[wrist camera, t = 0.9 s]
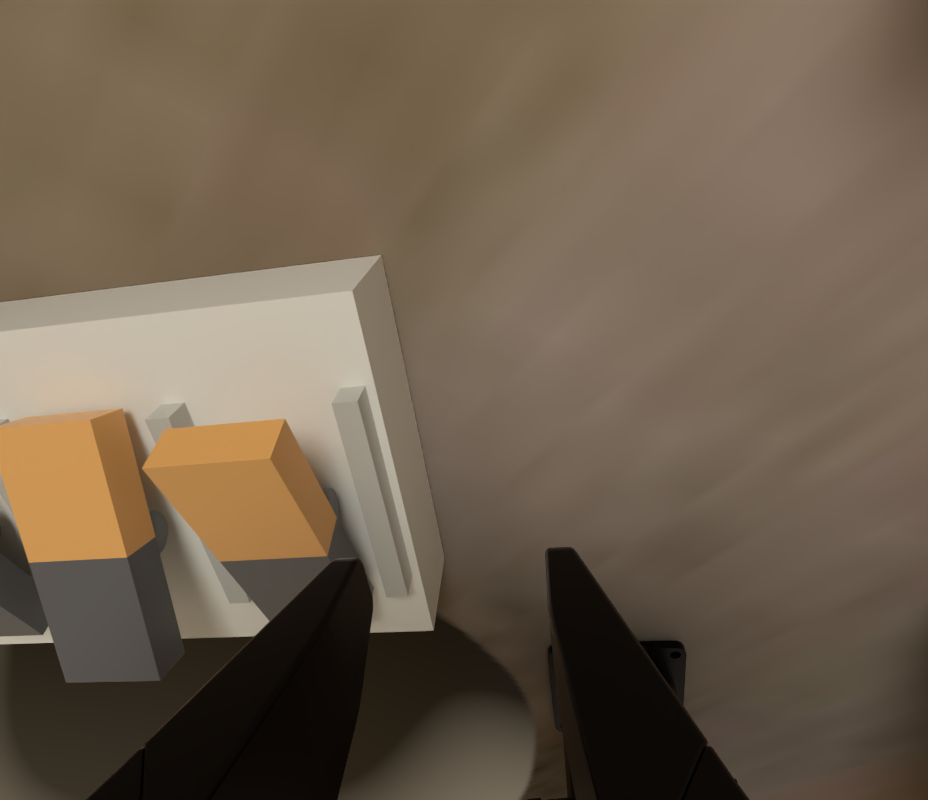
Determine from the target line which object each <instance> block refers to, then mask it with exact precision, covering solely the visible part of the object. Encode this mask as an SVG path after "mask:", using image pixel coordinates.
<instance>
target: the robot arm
mask: <svg viewBox="0 0 928 800" xmlns="http://www.w3.org/2000/svg"><path fill="white" fill-rule="evenodd" d="M545 560H546V579H547V597H548V610H549V620H550V630H551V640H552V646H550V647H549V648H548V660H549V669H550V678H551V688H552V697H553V706H554V716H555V725H556V728H557V729H558V730H559V731H561V732H563V741H564V754H565V768H566V781H567V795H568V798H559V799H549V800H749V798H748V797H747V796H746V794H745V793H744V792H743V790H742V789H741V787H740V786H739V785H738V783H737V780H736V779H734V778H733V777H732V775H731V774H730V772H729V771H728V769H727V768H726V766H725V765H724V764H723V762H722V761H721V759H720V758H719V756H718V755H717V753H716V752H715V751H714V749H713V748H712V747H710V746H707V744H708V742H707V740H706V738H705V737H704V735H703V734H702V732H701V731H700V729H699V728H698V727H697V725H696V724H695V722H694V721H693V719H692V718H691V716H690V715H689V714H688V712H687V711H686V709H685V708H684V706H683V701H684V685H685V669H686V652H685V648H684V645H683V644H682V643H681V642H678V641H650V642H639V641H638V640H637V639H636V637H635V636H634V634H633V633H632V631H631V630H630V628H629V627H628V626H627V624H626V623H625V621H624V620H623V618H622V617H621V615H620V614H619V613H618V611H617V610H616V608H615V607H614V605H613V604H612V602H611V601H610V600H609V598H608V597H607V595H606V594H605V592H604V591H603V589H602V588H601V587H600V585H599V584H598V582H597V581H596V579H595V578H594V576H593V575H592V574H591V572H590V571H589V569H588V568H587V566H586V565H585V563H584V562H583V561H582V559H581V558H580V556H579V555H578V553H577V552H576V551H575V550H574V549H573V548H571V547H557V548H548V549H547V550H546V551H545ZM372 614H373V596H372V592H371V589H370V586H369V582H368V579H367V576H366V572H365V569H364V566H363V563H362V561H361V560H360V559H358V558H338V559H334V560H333V561H331V562H330V563H329V564H328V565H327V566H326V567H325V568H324V569H323V570H322V571H321V572H320V573H319V574H318V575H317V576H316V577H315V578H313V579H312V580H311V581H310V582H309V583H308V584H307V585H306V586H305V587H304V588H303V589H302V590H301V591H300V592H299V593H298V594H297V595H296V596H295V597H294V598H293V599H292V600H291V601H290V602H289V603H288V604H287V605H286V606H285V607H284V608H283V609H282V610H281V611H280V612H279V613H278V614H277V615H276V616H275V617H274V618H273V619H271V620H270V621H269V622H268V623H267V624H266V625H265V626H264V627H263V628H262V629H261V630H260V631H259V632H258V633H257V634H256V635H255V636H254V637H253V638H252V639H251V640H250V641H249V642H248V643H247V644H246V645H245V646H244V647H243V648H242V649H241V650H240V651H239V652H238V653H237V654H236V655H235V656H234V657H233V658H232V659H231V660H229V661H228V662H227V663H226V664H225V665H224V666H223V667H222V668H221V669H220V670H219V671H218V672H217V673H216V674H215V675H214V676H213V677H212V678H211V679H210V680H209V681H208V682H207V683H206V684H205V685H204V686H203V687H202V688H201V689H200V690H199V691H198V692H197V693H196V694H195V695H194V696H193V697H192V698H191V699H190V700H189V701H187V703H186V704H185V705H183V707H181V708H180V709H179V710H178V711H177V712H176V713H175V714H174V715H173V716H172V717H171V718H170V719H169V720H168V721H167V722H166V723H165V724H164V725H163V726H162V727H161V728H160V729H159V730H158V731H157V732H156V733H155V734H154V735H153V736H152V737H151V738H150V739H149V740H148V741H147V742H146V743H145V747H144V748H139V749H138V750H137V751H136V752H135V753H134V754H133V755H132V756H131V757H130V758H129V759H128V760H127V761H126V762H125V763H124V764H123V765H122V766H121V767H120V768H119V769H118V770H117V771H115V773H114V774H112V775H111V776H110V777H109V778H108V779H107V780H106V781H105V782H104V783H103V784H102V785H101V786H100V787H99V788H98V789H96V791H94V792H93V793H92V794H91V795H90V796H89V797H88V798H87V799H86V800H337V799H338V794H339V790H340V786H341V782H342V778H343V774H344V770H345V766H346V762H347V758H348V754H349V750H350V746H351V742H352V738H353V734H354V730H355V726H356V721H357V717H358V712H359V707H360V701H361V695H362V687H363V680H364V673H365V666H366V658H367V651H368V644H369V636H370V629H371V622H372ZM528 800H541V799H540V798H533V799H528Z"/></svg>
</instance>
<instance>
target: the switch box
mask: <svg viewBox="0 0 928 800" xmlns="http://www.w3.org/2000/svg"><path fill="white" fill-rule="evenodd" d="M119 408H123V412H124V416H125V419H126V423H127V427H128V431H129V435H130V439H131V443H132V447H133V451H134V455H135V459H136V462H137V466H138V470H139V474H140V478H141V482H142V486H143V490H144V494H145V498H146V502H147V506H148V509H149V511H158V512H160V513H161V514H162V515H163V516H164V518H165V520H166V523H167V527H168V537H167V542H166V545H165V547H164V549H163V551H162V552H161V553H160V556H161V560H162V564H163V568H164V572H165V576H166V580H167V584H168V588H169V592H170V596H171V600H172V603H173V607H174V611H175V615H176V619H177V623H178V627H179V631H180V635H181V639H183V638H210V637H211V638H215V637H246V636H255V635H256V634H257V633H258V632H259V631H260V630H261V629H262V628H263V627H264V626H265V625H266V624H267V623H268V622H269V620H268V619H267V617H266V616H265V615H264V614H263V613H262V612H261V610H260V609H259V608H258V607H257V606H256V604H255V603H254V602H253V601H252V600H251V598H250V597H249V596H248V595H247V594H246V592H245V591H244V590H243V589H242V588H241V586H240V585H239V584H238V583H237V582H236V580H235V579H234V578H233V577H232V576H231V575H230V573H229V572H228V571H227V570H226V569H225V567H224V566H223V565H222V564H221V563H220V561H219V560H218V559H217V558H216V557H215V555H214V554H213V553H212V552H211V551H210V549H209V548H208V547H207V546H206V545H205V543H204V542H203V541H202V540H201V539H200V538H199V536H198V535H197V534H196V533H195V532H194V530H193V529H192V528H191V527H190V526H189V524H188V523H187V522H186V521H185V520H184V518H183V517H182V516H181V515H180V514H179V512H178V511H177V510H176V509H175V508H174V506H173V505H172V504H171V503H170V502H169V500H168V499H167V498H166V497H165V496H164V495H163V493H162V492H161V491H160V490H159V489H158V487H157V486H156V485H155V484H154V483H153V481H152V480H151V479H150V478H149V477H148V475H147V474H146V473H145V472H144V471H143V469H142V467H143V465H144V464H145V462H146V460H147V459H148V457H149V455H150V453H151V452H152V450H153V448H154V447H155V445H156V443H157V441H158V440H159V438H160V436H161V435H162V433H163V431H164V429H171V428H182V427H194V426H206V425H217V424H229V423H241V422H252V421H264V420H275V419H286V421H287V423H288V425H289V427H290V429H291V431H292V433H293V435H294V437H295V438H296V440H297V442H298V444H299V446H300V448H301V450H302V452H303V454H304V456H305V458H306V459H307V461H308V463H309V465H310V467H311V469H312V471H313V473H314V475H315V477H316V478H317V480H318V482H319V484H320V486H321V488H333V489H334V491H335V492H336V494H337V497H338V501H339V508H340V519H339V522H340V524H341V526H342V528H343V530H344V532H345V534H346V536H347V538H348V539H349V541H350V543H351V545H352V547H353V549H354V551H355V553H356V555H357V557H358V559H360V560H361V561H362V563H363V566H364V569H365V572H366V574H367V576H368V578H369V579H370V581H371V583H372V585H373V587H374V590H373V614H372V622H371V629H370V633H373V632H408V631H434V624H435V618H436V612H437V605H438V599H439V592H440V585H441V579H442V572H443V566H444V559H445V558H444V553H443V548H442V543H441V538H440V534H439V529H438V524H437V519H436V514H435V510H434V505H433V500H432V495H431V490H430V486H429V481H428V476H427V471H426V466H425V462H424V457H423V452H422V447H421V442H420V438H419V433H418V428H417V423H416V418H415V414H414V409H413V404H412V399H411V394H410V390H409V385H408V380H407V375H406V370H405V366H404V361H403V356H402V351H401V346H400V342H399V337H398V332H397V327H396V322H395V318H394V313H393V308H392V303H391V298H390V294H389V289H388V284H387V279H386V274H385V270H384V265H383V260H382V255H377V256H369V257H361V258H353V259H345V260H337V261H329V262H321V263H313V264H305V265H297V266H289V267H281V268H273V269H265V270H257V271H249V272H241V273H233V274H225V275H217V276H209V277H201V278H192V279H184V280H176V281H168V282H160V283H152V284H144V285H136V286H128V287H120V288H112V289H104V290H96V291H88V292H80V293H72V294H64V295H56V296H48V297H40V298H32V299H24V300H16V301H8V302H0V425H2V424H5V423H9V422H12V421H15V420H18V419H22V418H25V417H33V416H44V415H54V414H65V413H76V412H87V411H98V410H109V409H119ZM0 526H1V536H0V553H1V554H3V555H4V556H5V557H7V558H8V559H9V560H10V561H12V562H13V563H14V564H16V565H17V566H18V567H20V568H21V569H22V570H23V571H25V572H26V573H27V574H29V575H30V576H31V577H33V575H32V572H31V568H30V565H29V562H28V559H27V556H26V552H25V549H24V546H23V543H22V540H21V536H20V533H19V530H18V527H17V524H16V520H15V517H14V514H13V511H12V508H11V504H10V501H9V498H8V495H7V492H6V488H5V485H4V482H3V479H2V476H1V472H0ZM52 642H53V639H52V636H51V632H50V629H49V626H48V627H47V629H46V631H45V633H44V634H43V635H32V636H2V637H0V644H21V643H52ZM53 643H54V642H53Z"/></svg>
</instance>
